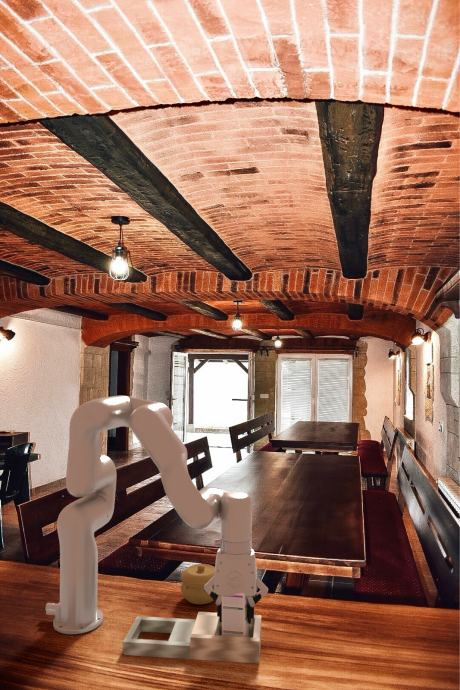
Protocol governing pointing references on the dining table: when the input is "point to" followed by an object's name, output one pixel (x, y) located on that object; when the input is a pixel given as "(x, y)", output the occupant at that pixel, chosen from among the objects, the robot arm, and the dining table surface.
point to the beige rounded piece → (197, 583)
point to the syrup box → (235, 615)
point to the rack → (194, 639)
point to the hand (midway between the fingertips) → (235, 619)
